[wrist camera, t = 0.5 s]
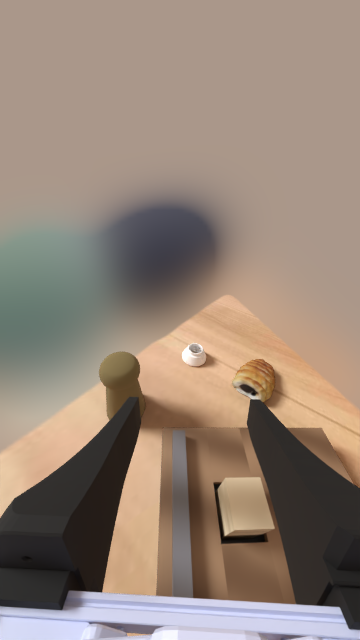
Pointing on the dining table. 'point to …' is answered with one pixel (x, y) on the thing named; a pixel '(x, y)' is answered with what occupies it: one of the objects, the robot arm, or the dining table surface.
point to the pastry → (255, 380)
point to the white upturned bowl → (194, 355)
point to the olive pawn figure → (120, 381)
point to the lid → (202, 520)
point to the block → (242, 509)
